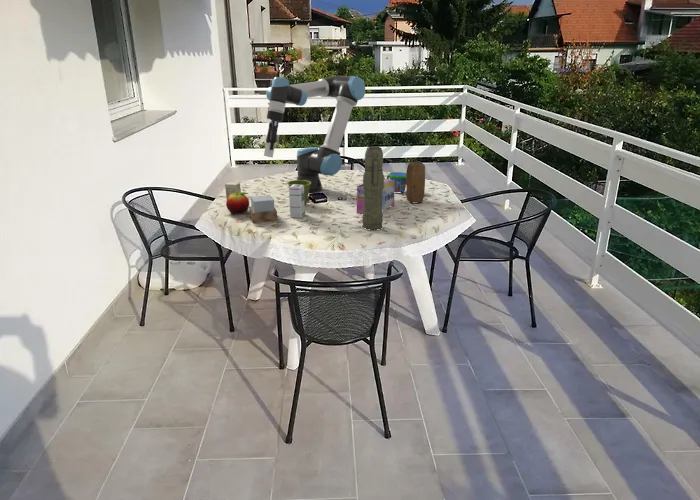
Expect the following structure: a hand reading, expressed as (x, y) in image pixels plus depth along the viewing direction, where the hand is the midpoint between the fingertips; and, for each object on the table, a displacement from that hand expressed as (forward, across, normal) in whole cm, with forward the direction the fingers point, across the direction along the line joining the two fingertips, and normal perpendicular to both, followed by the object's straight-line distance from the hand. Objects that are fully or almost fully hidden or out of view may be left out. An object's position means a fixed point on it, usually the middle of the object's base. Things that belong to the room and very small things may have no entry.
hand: (268, 156), depth 248 cm
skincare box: (+28, -8, -11) cm, 31 cm away
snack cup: (+5, -18, +75) cm, 77 cm away
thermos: (+21, +37, +46) cm, 63 cm away
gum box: (+15, +11, +55) cm, 58 cm away
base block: (+28, +13, +1) cm, 31 cm away
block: (+8, +2, +77) cm, 78 cm away
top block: (+24, +14, 0) cm, 27 cm away
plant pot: (+20, -6, +20) cm, 30 cm away
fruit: (+29, +1, -9) cm, 30 cm away
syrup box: (+24, +13, +17) cm, 32 cm away
